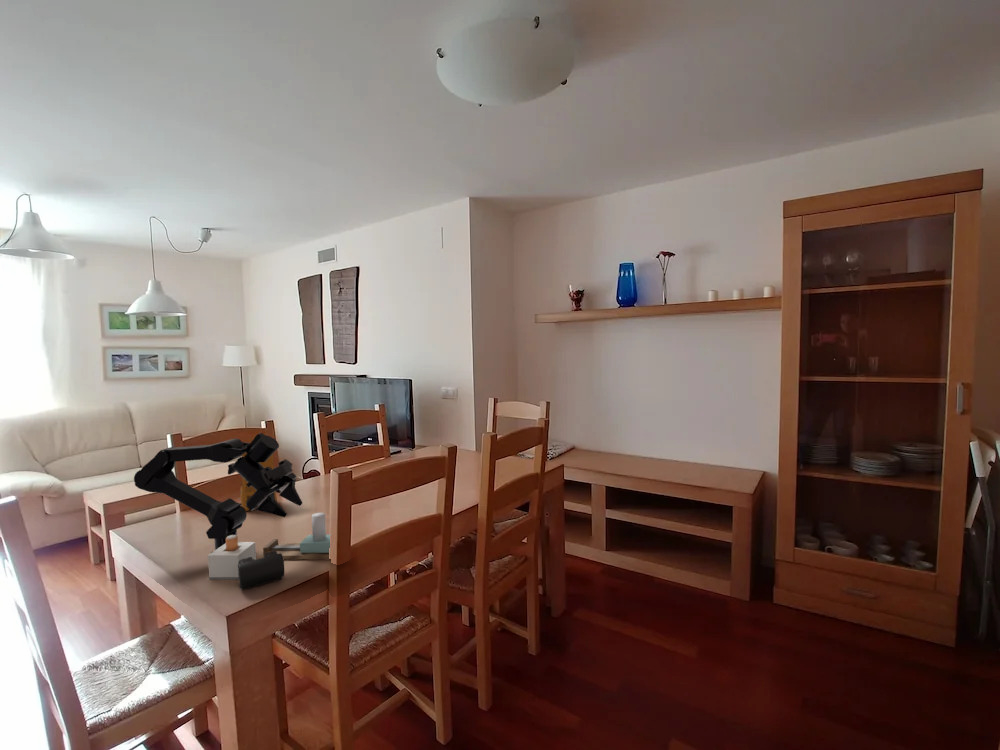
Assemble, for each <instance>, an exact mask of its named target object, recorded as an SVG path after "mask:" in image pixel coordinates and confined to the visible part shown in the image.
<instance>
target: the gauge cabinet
mask: <svg viewBox="0 0 1000 750" xmlns="http://www.w3.org/2000/svg"><path fill="white" fill-rule="evenodd" d="M256 547H257V546H256V542H255V541H238V549H237V550H235V551H226V543H225V544H224V545H222V546H221V547H219V548H218V549H216V550H215V549H214V550H213V552H212V551H211V552H212V553H211V552H210V553H209V554H208V555H207V562H208V563H207V564H208V575H209V576H208V580H211V581H212V580H219V581H221V580H228V581H229V580H232V581H233V580H235V581H237V580H238V581H239V575H238V574H239V572H238V565H239V561H240V560H241V559H245V558H249V557H252V558H253V560H257V552H256V550H257V549H256Z"/></svg>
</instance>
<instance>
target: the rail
mask: <svg viewBox="0 0 1000 750" xmlns="http://www.w3.org/2000/svg"><path fill="white" fill-rule="evenodd" d="M300 543H301V542H299V543H296V542H295V543H288V542H287V543H284V542H283V543H279V538H274V539H272V540H271V541H270V542H268V543H267V544H266V545H265V546H263V547H262V551H263V552H262V553H263V558H264V557H265V556H264V554H265V553H269V552H272V551H276V552H277V553H278V554H280V553H281V554H282V556H283V559H325V560H328V561H329V553H300Z"/></svg>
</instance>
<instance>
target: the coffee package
mask: <svg viewBox="0 0 1000 750" xmlns="http://www.w3.org/2000/svg"><path fill="white" fill-rule="evenodd" d="M274 453H275V452H274ZM274 453H273V454H272V455H271V456H270V457H269V458H268V459H267V461H266V462H259V463H260V464H261V465H262V466H263V467H265V468H266V467H270V468H272V469H274V468H275V465H274ZM246 454H247V453H245V454H243V455H242V456H241V457H244V456H245V455H246ZM247 483H248V482H247V481H246V480H245V479H244V478H243V477H242V476H241V485H240V490H239V495H240V503H241V504H242V505H240V506H243V507H244V508H245V509H246V512H248V511H250V510H249V509H248V508H247V507H246V501H247V500H248V499H249V498H250V497H251V496H252V495H253V494H254V493H255V492H256V491H257V490H256V489H255V488H254V487H252V486H250V487H248V486H246V485H247ZM274 495H275V500H276V501H277V502H278V496H277V492H276V491H275V492H274ZM255 509H256V508H255ZM255 509H254V510H255Z"/></svg>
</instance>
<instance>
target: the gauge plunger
mask: <svg viewBox="0 0 1000 750" xmlns="http://www.w3.org/2000/svg"><path fill="white" fill-rule="evenodd" d="M238 542H239V538H238V534H237V535H230V536H227V537H226V551H235V550H237V549H238Z"/></svg>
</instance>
